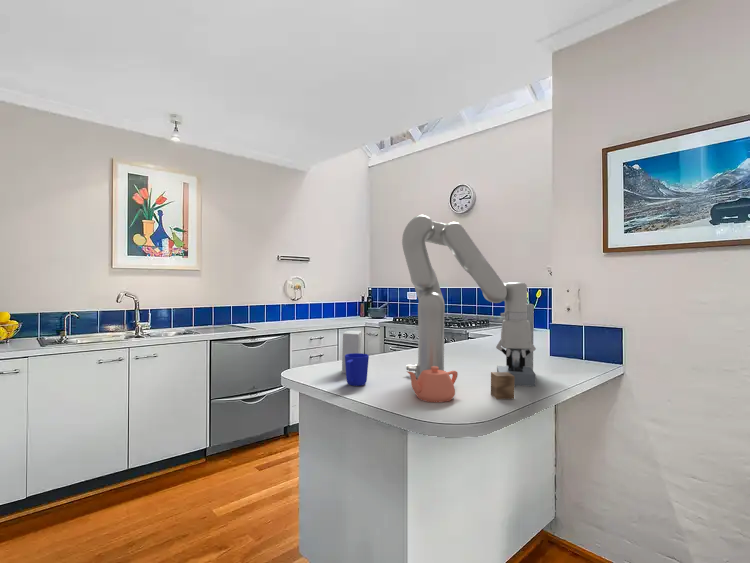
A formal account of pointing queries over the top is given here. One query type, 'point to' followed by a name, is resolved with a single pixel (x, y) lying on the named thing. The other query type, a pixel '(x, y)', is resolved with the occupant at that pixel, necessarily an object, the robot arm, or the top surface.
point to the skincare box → (350, 345)
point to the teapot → (434, 385)
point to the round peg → (515, 360)
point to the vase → (531, 319)
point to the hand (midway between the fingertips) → (515, 367)
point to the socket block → (521, 375)
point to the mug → (356, 368)
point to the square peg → (502, 385)
